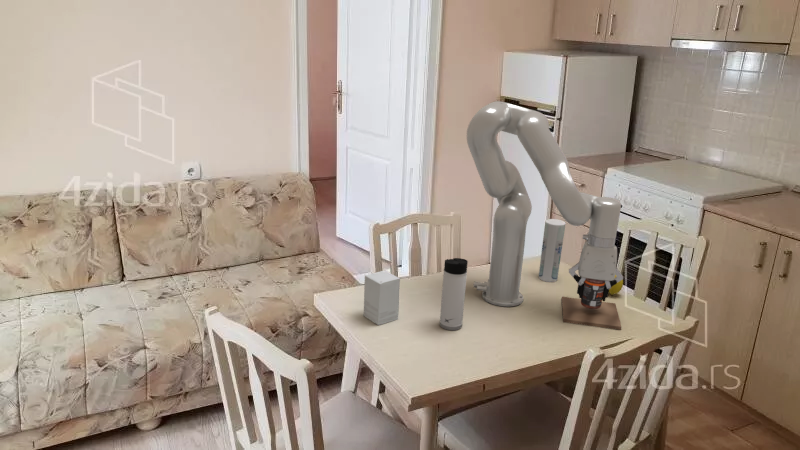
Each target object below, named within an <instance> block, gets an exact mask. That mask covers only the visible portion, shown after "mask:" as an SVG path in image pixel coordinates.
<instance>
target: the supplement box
mask: <svg viewBox="0 0 800 450" xmlns="http://www.w3.org/2000/svg"><path fill="white" fill-rule="evenodd" d="M400 286H401V278H400V277H398V276H396V275H394V274H392V273H391V272H389V271H387V270H381V271H377V272H373V273H369V274H365V275H364V287H363V288H364V292H363V317H365V318H366V319H368V320H369V321H370V322H372V323H374V324H375V325H377V326H379V325H384V324H387V323H390V322H394V321H396V320H397V321H398V320H399V307H400V305H399V304H400Z"/></svg>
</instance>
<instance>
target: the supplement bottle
mask: <svg viewBox="0 0 800 450" xmlns="http://www.w3.org/2000/svg"><path fill="white" fill-rule="evenodd" d="M583 285H584V289H583V295H582V298H580V299H581V304H582V305H583V306H584V307H586V308H590V309H598V308H600V307H601V304H602V302H603V301H602V298H603V292H604V286H605V281H602V280H594V279H585V281H584V282H583Z"/></svg>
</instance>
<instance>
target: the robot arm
mask: <svg viewBox="0 0 800 450" xmlns="http://www.w3.org/2000/svg"><path fill="white" fill-rule="evenodd" d="M500 132H505V133H508V134H511V135H514V136H516V137H517V138H518V140H519V142H520V143H521V145H522V147H523V148H524V150H525V151H526V154H527V155H528V156H529V158H530V159H531V162H532V163H533V165H534V166H535V168H536V170H537V172H538V173H539V176H541V177H540V178H541V180H542V182H543V184H544V186H545V188H546V190H547V192H548V194H549V196H550V198H551V200H552V202H553V203H554V205H555V207H556V209H557V210H558V212H559V214H560V215H561V217H562V218H563V220H564V222H567V224H569V225H571V226H575V227H580V226H583V225H585V224H586V223H588V221H589V220H590V221H589V227H588V228H589V230H588V233H586V234H582V240H585V242H584V243H583V246H582V248H581V249H582V250H581V252H580V257H579V260H578V262H577V263H576V264H574V265H573V266H571V267H570V268H569V269H568V273H569V274H570V275H571V277H572V278H573V279H574V281H575V282H576V283H577V291H576V294H577V295H578V299H581V298H582V295H583V289H584V285H583V283H584V281H585V279H594V280H602V281H605V283H606V284H605V286H604V292H603V298H602V302H606V299H607V298H609V294H610V293H609V289H610V288H611V287H612V286H614V285H615V284H617V283H618V282H619V281H621V280H623V281H624V276H623V275H622V273H621V272H620V270H618V268H617V261H618V247H617V246H616V245H615V243H616V238H617V233H618V227H619V221H620V220H619V219H620V214H621V210H622V208H621V207H622V204H621V202H620V201H619V200H618V199H616V198H613V197H609V196H597V195H593V194H589V193H587V192H580V190H579V189H578V188H577V185H576V184H575V181H574V178H573V177H572V174H571V171H570V166H569V162H568V158H567V157H566V154H565V153H564V152H563V149H562V148H561V147H560V145H559V143H558V142H557V140H556V139H555V136H554V135H553V133H552V132H551V130H550V122H549V119H548V118H547V116H546V115H545V114H543V113H542V112H540V111H538V110H534V109H529V108H527V107H524V106H521V105H520V106H519V105H516V104H512V103H509V102H505V101H493V102H490V103H488V104H486V105H484V106H482V107H481V108H480V109H479V110H478V111H477V112H476V113H475V114H474V115H473V117H472V118H471V120H470V121H469V124H468V125H467V130H466V143H467V146H468V149H469V152H470V154H471V157H472V160H473V162H474V165H475V168H476V170H477V172H478V175H479V177H480V179H481V182H482V185H483V189H484V190H485V192H486V193H487V195H489V196H490V197H492V198H493V199H496V200H497V202H498V206H497V208H496V210H495V212H494V215H493V222H492V223H493V227H492V229H493V230H492V243H491V244H492V246H491V254H490V264H489V265H490V266H489V274H488V279H487V281H484V282H480V281H473V288H475V289H476V291H480V292H481V291H482V294H481V295H482V296H481V297H482V299H483V300H484V301H486V302H487V303H488V304H491V305H495V306H499V307H507V308H508V307H509V308H510V307H516V306H519V305H521V304H522V303H523V302H524V295H523V294H522V293H521V292H520V287H521V278H522V270H523V262H524V254H525V253H524V252H525V244H526V232H527V231H526V230H527V225H528V221H529V218H530V216H531V213H532V209H533V208H532V207H533V206H532V201H531V198H530V196H529V194H528V191H527V189H526V187H525V183H524V181H523V179H522V176H521V174H520V171H519V169H518V168H517V167H516V166H515V165H514V163H513V162H511V161H508V160H506V159H505V156H504V154H503V151H502V149H501V146H500V145H499V142H498V139H497V135H498V134H499V133H500ZM576 272H577V273H576ZM615 275H616V276H617V277H615Z"/></svg>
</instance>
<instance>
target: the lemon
mask: <svg viewBox="0 0 800 450" xmlns="http://www.w3.org/2000/svg"><path fill="white" fill-rule="evenodd" d="M615 277H617V276H616V275H615ZM605 284H606V283H605ZM623 285H624V279H623V280H621V281H619V282H618V283H617V284H615V285H614V286H612V287H611V288H610V289H609V293H608V294H610V295H611V296H613V295H615V294H618V293H620V292H621V290H622V289H623Z"/></svg>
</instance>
